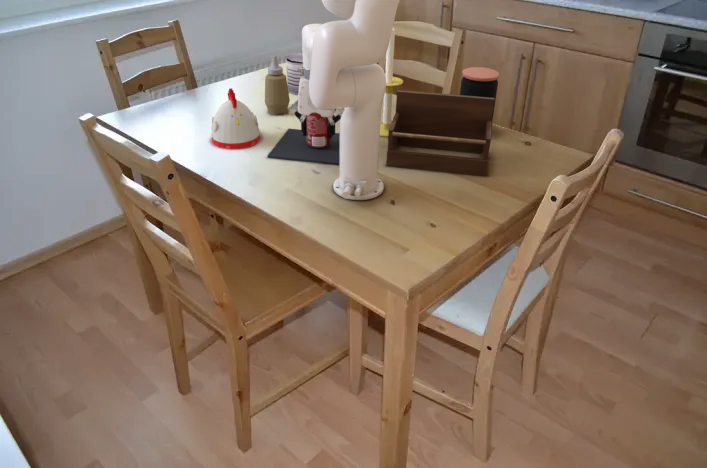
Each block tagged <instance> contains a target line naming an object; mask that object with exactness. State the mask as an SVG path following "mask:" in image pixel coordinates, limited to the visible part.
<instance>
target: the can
mask: <svg viewBox="0 0 707 468" xmlns="http://www.w3.org/2000/svg"><path fill="white" fill-rule="evenodd" d="M284 58H285V65H286V79H287V86H288V92H289V94H293V95H297V96H298V93H299V83H300V78H301V77H302V73H299V72H298V67H299V68H301V67H303V53H302V52H291V53H287V54H286V55H285V56H284Z"/></svg>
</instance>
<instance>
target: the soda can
mask: <svg viewBox="0 0 707 468" xmlns="http://www.w3.org/2000/svg"><path fill="white" fill-rule="evenodd" d="M329 124H330V122H329V120H328V118H327V117H322V116H321V115H320V114H318V113H311V114H309V115H308V116H306V133H307V145H309V146H310V147H312V148H316V149H321V148H325V147H327V146H329V145H330V138H329Z"/></svg>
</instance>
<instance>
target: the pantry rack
mask: <svg viewBox="0 0 707 468" xmlns="http://www.w3.org/2000/svg"><path fill="white" fill-rule="evenodd" d="M493 106H494V98H489V97H476V96H464V95H460V94H450V93H437V92H423V91H412V90H402V89H401V90H400V89H397V90H396V100H395V113H394V114H393V115H394V116H393V118H392V119H391V125H390V128H389V133H388V137H387V150H386V165H385V167H391V168H401V169H411V170H421V171H429V172H439V173H448V174H449V173H450V174H459V175H460V174H461V175H469V176H480V177H486V176H487V170H488V162H489V154H490V148H491V142H492V127H491V119H492V112H493ZM398 147H408V148H409V147H411V148H421V149H432V150H441V151H442V150H443V151H452V152H453V151H454V152H463V153H464V152H465V153H473V154H481V158H479V157H469V156H460V155H459V156H458V155H450V154H440V153H439V154H438V153H427V152H418V151H407V150H397V149H398Z"/></svg>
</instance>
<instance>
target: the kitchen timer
mask: <svg viewBox="0 0 707 468" xmlns="http://www.w3.org/2000/svg"><path fill="white" fill-rule="evenodd" d="M227 98H228V100H226V101H225V102H223V103H222V104H221V105H220V106H219V108H218V109H217V110H216V112H215V114H214V116H212V117H211V125H210V126H211V127H210V128H211V141H212V144H213V145H214V146H215V147H218V148H222V149H226V150H227V149H228V150H241V149H246V148H250V147H252V146H254V145H256V144H258V143H259V142H260V140H261V133H260V127H259V122H258V119H257V115H255V114H254V112H253V111H252V110H251V109H250V107H248V106H247V105H246V103H244V102H242V101H240V100H238V99H237V98H236V92H234V90H233V88H231V87H230V88H228V90H227Z"/></svg>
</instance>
